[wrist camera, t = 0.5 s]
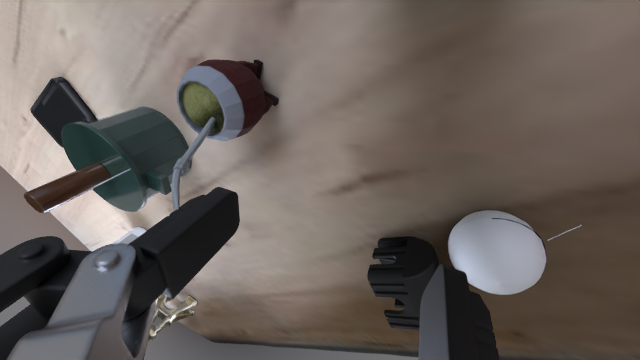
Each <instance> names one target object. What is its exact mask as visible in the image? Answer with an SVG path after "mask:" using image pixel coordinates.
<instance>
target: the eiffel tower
mask: <svg viewBox="0 0 640 360" xmlns="http://www.w3.org/2000/svg"><path fill="white" fill-rule="evenodd" d="M170 300H171V298H170V297H168V296H166V295H164V294H161V295H160V296H159V297H158V301H157V305H156V306H155V311H154V315H153V320H152V323H153V321H154V320H155V319H156V317H157V316H158V317H159V318H161V319H162V321H161V322H160V323H159V324H158V325H157V326H156V327H155V326H154V325H152V324H151V329H150V333H149V338H148V341H149V340H150V339H152V340H153V339H154V338H155V337H156V334H157V333H158V332H160V331H161V330H162V329H163V328H164V327H165V326H167V325H169V326H170V324H171V323H172V322H174V321H177V320H180V319H183V318H186V317H188V316H189V315H190V316H191V315H192V316H193V314H194V311H193V310H191V309H190V307H191V306H193V305H194V306H196V303H197V301H196V300H195V299H193V298H192V297H191V296H189V295H188V296H187V298H186V301H184V302H183V303H182V304H181V305H179V306H178V307H177V308H170V307H168V306H167V305H166V303H167V301H170Z"/></svg>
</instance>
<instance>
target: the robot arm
mask: <svg viewBox="0 0 640 360" xmlns="http://www.w3.org/2000/svg"><path fill="white" fill-rule="evenodd" d="M239 222H240V218H239V204H238V195H237V193H236V192H233V191H230V190H227V189H224V188H221V187H217V188H215V189H214V190H212V191H211V192H210V193H208V194H207V195H201V196H198V197H196V198H193V199H191V200H189V201H188V202H186V203H185V204H183V205H182V206H181V207H179V209H178V210H177V209H176V210H175V211H174V212H172V213H171V214H170V216H167V217H165V218H164V219H163V220H161V221H160V222H158V223H157V224H156V225H154V226H153V227H152V228H150V229H149V230H147V231H146V232H145V233H143V234H142V235H140V236H139V237H138V238H136V239H135V240H134V241H132V242H131V243H129V244H125V243H115V244H110V245H106V246H103V247H101V248H99V249H97V250H95V251H93V252H91V251H77V250H68V248H67V247H66V245H65V243H64V242H63V240H62V239H60V238H58V237H53V236H46V237H39V238H35V239H31V240H29V241H26V242H24V243H21V244H19V245H17V246H15V247H14V248H12V249H10V250H8V251H6V252H5V253H3V254H1V255H0V312H2V311H3V310H4V309H6V308H7V307H9V306H10V305H12V304H13V303H14V302H16V301H17V300H19V299H20V298H21V297H23V296H24V297H25V298H26V299H27V301H28V302H29V303H30V305H29V306H28V307H26V308H25V309H24V310H22V311H21V312H19V313H18V314H17V315H16V316H14V317H13V318H11V319H10V320H9V321H8V322H6V323H5V324H3V325H2V326H1V327H0V360H144V356H145V351H146V347H147V342H148V338H149V333H150V329H151V324H152V320H153V315H154V311H155V306H156V301H155V300H156V299H157V298H158V297H159V296H160V295H161V294H164V295H166V296H168V297H170V298H172V299H174V297H175V296H176V295H177V294H178V293H179V292H180V291H181V290H182V289H183V288H184V287H185V286H186V285H187V284H188V283H189V282H190V280H191V279H192V278H193V277H194V276H195V275H196V274H197V273H198V272H199V271H200V270H201V269H202V268H203V267H204V266H205V265H206V263H207V262H208V261H209V260H210V259H211V258H212V257H213V256H214V255H215V254H216V253H217V252H218V251H219V250H220V249H221V248H222V246H223V245H224V244H225V243H226V242H227V241H228V240H229V239H230V238H231V237H232V236H233V235H234V234H235V232H236V231H237V229H238V226H239ZM419 360H500V359H499V355H498V350H497V348H496V341H495V336H494V333H493V326H492V322H491V317H490V312H489V310H488V308H487V307H486V305H485V303H484V302H483V300H482V298H481V297H480V295H479V294H477V293H474V292H471V291H469V287H468V280H467V275H466V273H465V272H463V271H460V270H457V269H454V268H451V267H449V266H446V265H443V264H440V265H439V266H438V268H437V269H436V271H435V273H434V275H433V276H432V278H431V280H430V282H429V283H428V285H427V287H426V288H425V290H424V293H423V296H422V299H421V305H420V333H419Z"/></svg>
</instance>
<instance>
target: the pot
mask: <svg viewBox="0 0 640 360" xmlns="http://www.w3.org/2000/svg"><path fill="white" fill-rule="evenodd" d="M88 124H90V125H92V126H94V127H96V128H98V129H99V130H101V131H102V132H104V133H105V134H106V135H108V136H109V137H110V138H111V139H113V140H114V141H115V142H116V143H117V144H118V145H119V146H120V147H121V148H122V149H123V150H124V152H125V153H126V154H127V155H128V156H129V158H130V159H131V160H132V162H133V163H134V165H135V166H136V168H137V169H138V171H139V173H140V175H141V177H142V179H143V181H144V184H145V186H146V190H147V200H148V199H149V198H151V197H152V196H154V195H155V194H157V193H159V192H160V193H162V194H165V195H167V194H168V193H170V192H171V191H172V189H171V184H172V177H173V172H174V170H173V167H174V166H175V164H176V162H177V161H178V159H179V158H182V157H183V155H184V154H185V153H186V151H187V150H188V149H189V147H188V145H187V143H186V141H185V139H184V137H183V135H182V134H181V132H180V131H179V130H178V128H177V127H176V126H175V125H174V124H173V123H172V122H171V121H170V120H169V119H168V118H167V117H166V116H165V115H163V114H162V113H160V112H158V111H157V110H154V109H152V108H148V107H139V108H136V109H131V110H128V111H125V112H122V113H119V114H115V115H112V116H109V117H106V118H102V119H99V120H96V121H93V122H90V123H88ZM188 162H189V164H188V166H187V168H186V170H185V171H184V173H182V174H181V177H180V179H181V178H182V177H183V176H185V175H186V174H187V173H188V172H189V170H190V168H191V159H190V160H189V161H188Z"/></svg>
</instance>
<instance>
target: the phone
mask: <svg viewBox="0 0 640 360" xmlns="http://www.w3.org/2000/svg"><path fill="white" fill-rule="evenodd" d="M30 110H31V113H32V114H33V116H34V117H35V118H36V119H37V120H38V121H39V123H40V124H41V125H42V126H43V127H44V128H45V129H46V131H47V132H48V133H49V134H50V135H51V136H52V137H53V139H54V140H55V141H56V142H57V143H58V144H59V145H60V146H61V147H63V143H62V138H61V132H62V129H63V127H64V126H65V125H66V124H69V123H72V122H84V123H90V122H93V121H96V118H95V116H94V115H93V114H92V112H91V111H90V110H89V108H88V107H87V106H86V105H85V103H84V102H83V101H82V100H81V98H80V97H79V96H78V95H77V93H76V92H75V91H74V89H73V88H72V87H71V86H70V84H69V83H68V82H67V81H66V80H65V79H64V78H62V77H58V78H52V79H51V80H50V81H49V83H48V84H47V86H46V87H45V89H44V90H43V92H42V93H41V94H40V96H39V97H38V99H37V100H36V102H35V103H34V104H33V106H32V107H31V109H30Z"/></svg>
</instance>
